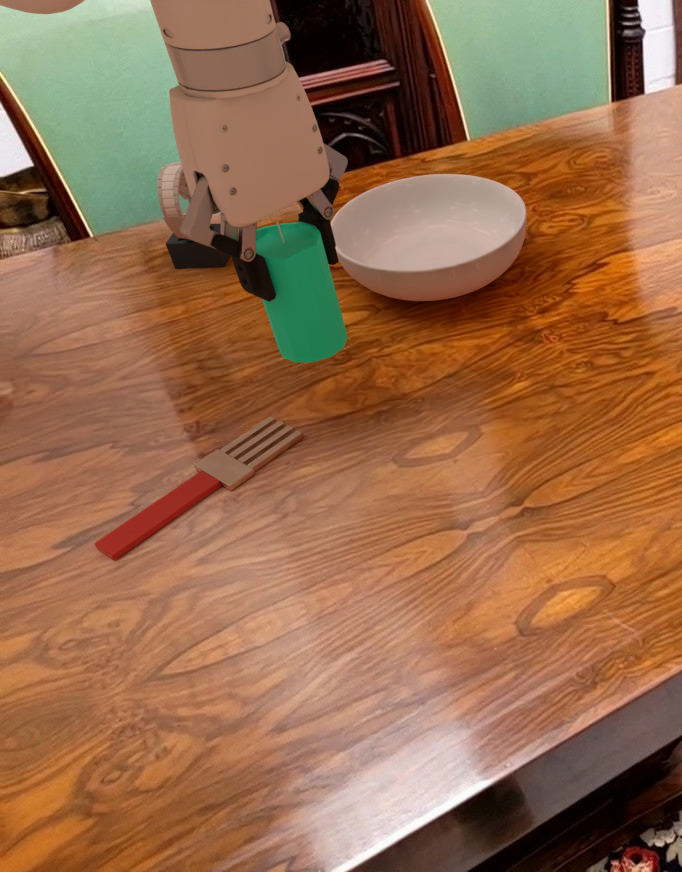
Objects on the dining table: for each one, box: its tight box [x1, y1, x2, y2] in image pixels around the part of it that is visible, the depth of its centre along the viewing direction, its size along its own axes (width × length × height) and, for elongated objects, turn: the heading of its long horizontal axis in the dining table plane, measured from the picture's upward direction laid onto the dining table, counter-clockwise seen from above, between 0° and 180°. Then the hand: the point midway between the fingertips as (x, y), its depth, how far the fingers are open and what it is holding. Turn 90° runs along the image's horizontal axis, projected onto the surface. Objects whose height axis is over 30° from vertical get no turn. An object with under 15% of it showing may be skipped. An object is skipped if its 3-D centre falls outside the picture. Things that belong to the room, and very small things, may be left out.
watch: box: [156, 161, 231, 269], centre depth 103 cm, size 6×8×11 cm
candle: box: [256, 219, 349, 364], centre depth 79 cm, size 6×6×12 cm
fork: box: [93, 415, 304, 561], centre depth 78 cm, size 18×5×1 cm, turn 146°
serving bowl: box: [330, 173, 528, 302], centre depth 102 cm, size 21×21×7 cm
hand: (293, 275), depth 78 cm, fingers closed on candle, 6 cm apart
